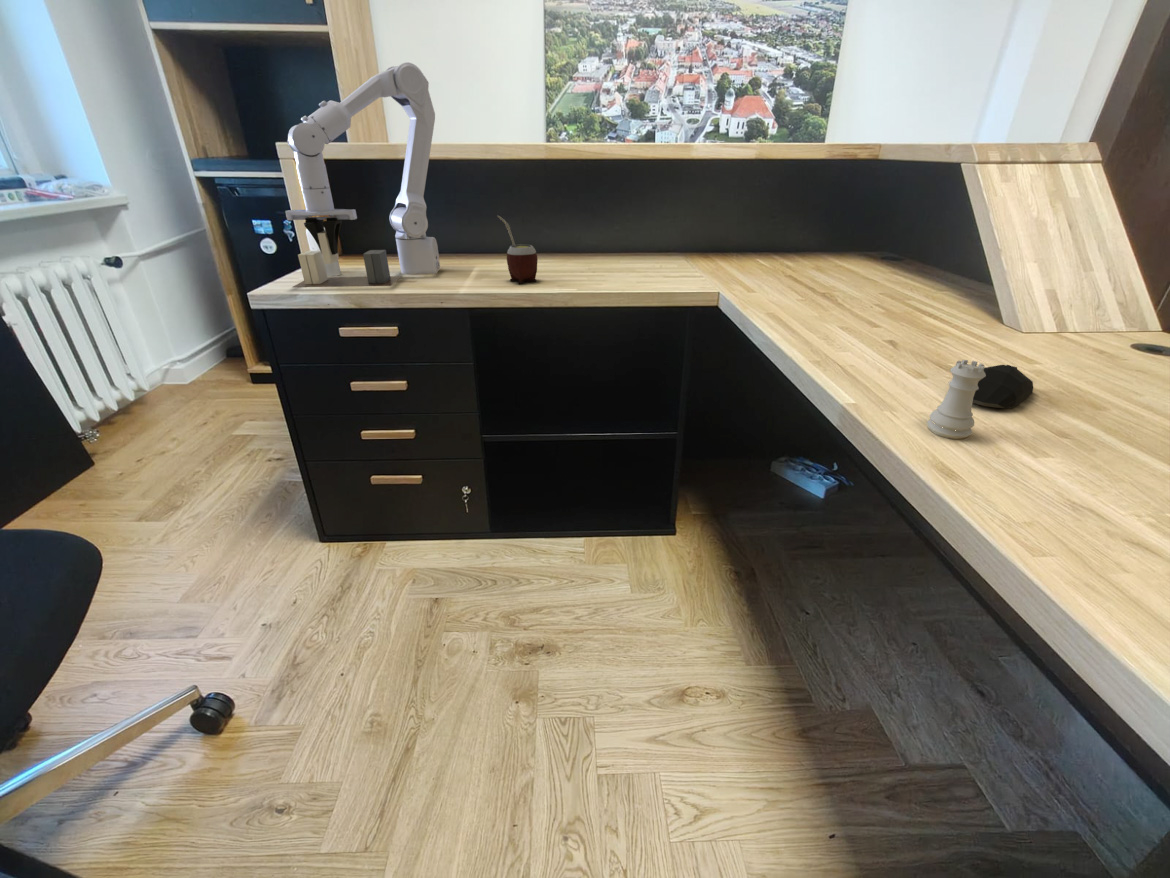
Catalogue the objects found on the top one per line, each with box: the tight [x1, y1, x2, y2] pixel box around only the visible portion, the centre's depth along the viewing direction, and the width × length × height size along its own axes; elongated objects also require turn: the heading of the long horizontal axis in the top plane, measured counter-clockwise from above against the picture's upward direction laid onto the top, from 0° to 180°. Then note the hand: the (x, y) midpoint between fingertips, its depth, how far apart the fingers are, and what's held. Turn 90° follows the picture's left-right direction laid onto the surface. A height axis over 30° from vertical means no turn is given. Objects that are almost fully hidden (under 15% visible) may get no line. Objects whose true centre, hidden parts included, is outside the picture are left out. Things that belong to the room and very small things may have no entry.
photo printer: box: [305, 228, 342, 277], centre depth 135 cm, size 10×4×12 cm, turn 39°
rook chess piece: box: [926, 359, 986, 440], centre depth 60 cm, size 4×4×8 cm
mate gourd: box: [496, 215, 538, 285], centre depth 127 cm, size 8×8×15 cm
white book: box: [318, 231, 340, 264], centre depth 125 cm, size 2×5×6 cm, turn 2°
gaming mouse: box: [972, 364, 1034, 409], centre depth 71 cm, size 6×15×4 cm, turn 126°
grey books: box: [362, 249, 391, 283], centre depth 127 cm, size 4×5×6 cm
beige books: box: [297, 250, 328, 284], centre depth 127 cm, size 3×5×6 cm
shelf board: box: [292, 275, 403, 288], centre depth 129 cm, size 22×10×1 cm, turn 92°
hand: (329, 253), depth 125 cm, fingers closed on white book, 1 cm apart
